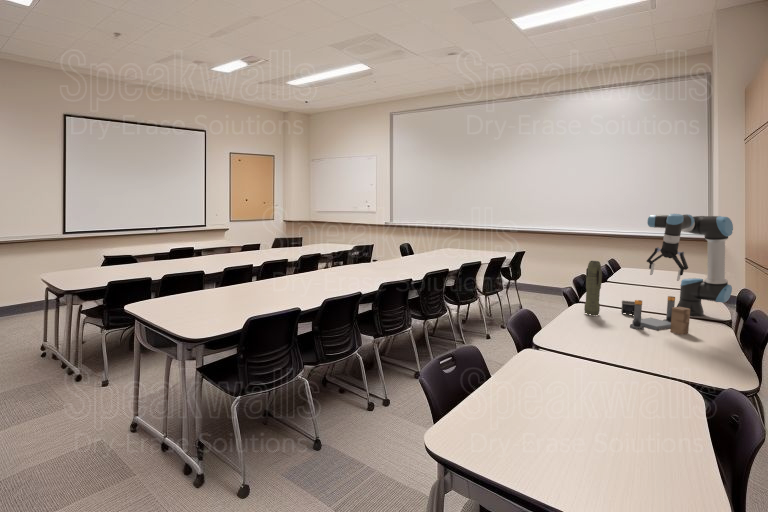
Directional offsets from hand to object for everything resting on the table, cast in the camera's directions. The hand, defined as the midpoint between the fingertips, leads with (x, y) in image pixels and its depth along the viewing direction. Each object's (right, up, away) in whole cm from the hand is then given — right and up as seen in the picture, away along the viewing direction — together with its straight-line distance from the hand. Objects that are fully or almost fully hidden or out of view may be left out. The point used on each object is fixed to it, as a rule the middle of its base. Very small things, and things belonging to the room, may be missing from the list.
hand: (664, 277), depth 250 cm
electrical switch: (-1, -26, +33) cm, 42 cm away
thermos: (-25, -26, +34) cm, 50 cm away
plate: (-1, -29, +9) cm, 30 cm away
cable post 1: (-14, -30, +4) cm, 33 cm away
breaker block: (+4, -31, -6) cm, 32 cm away
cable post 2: (+12, -28, +14) cm, 34 cm away
